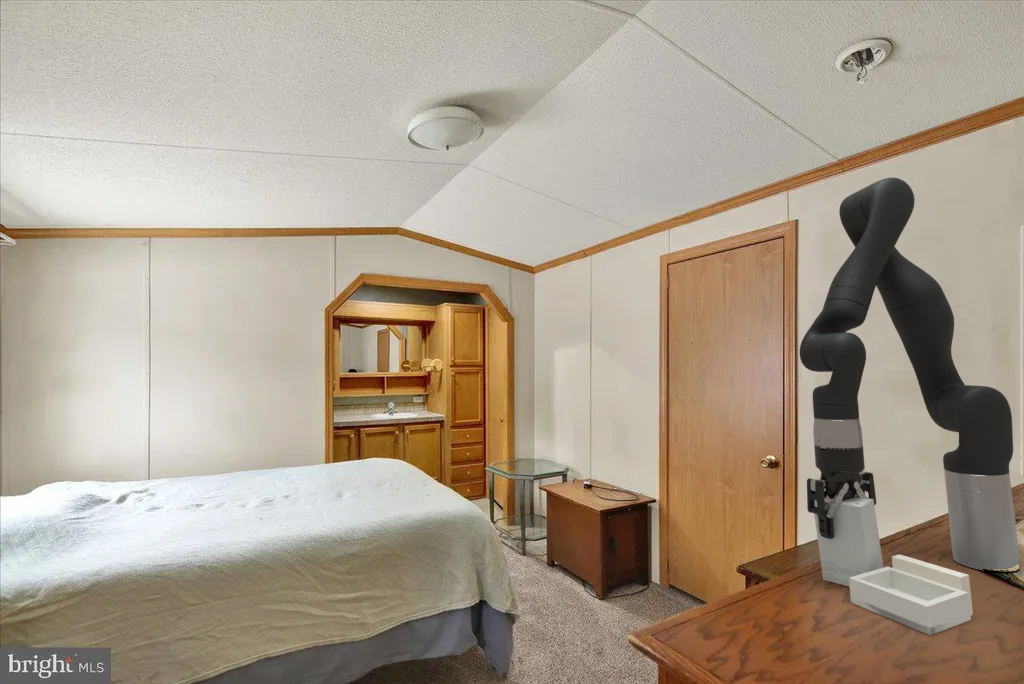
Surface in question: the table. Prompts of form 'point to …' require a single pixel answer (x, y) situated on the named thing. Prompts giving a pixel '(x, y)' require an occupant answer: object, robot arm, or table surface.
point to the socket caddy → (910, 599)
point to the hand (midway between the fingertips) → (844, 533)
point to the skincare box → (850, 541)
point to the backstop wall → (933, 573)
